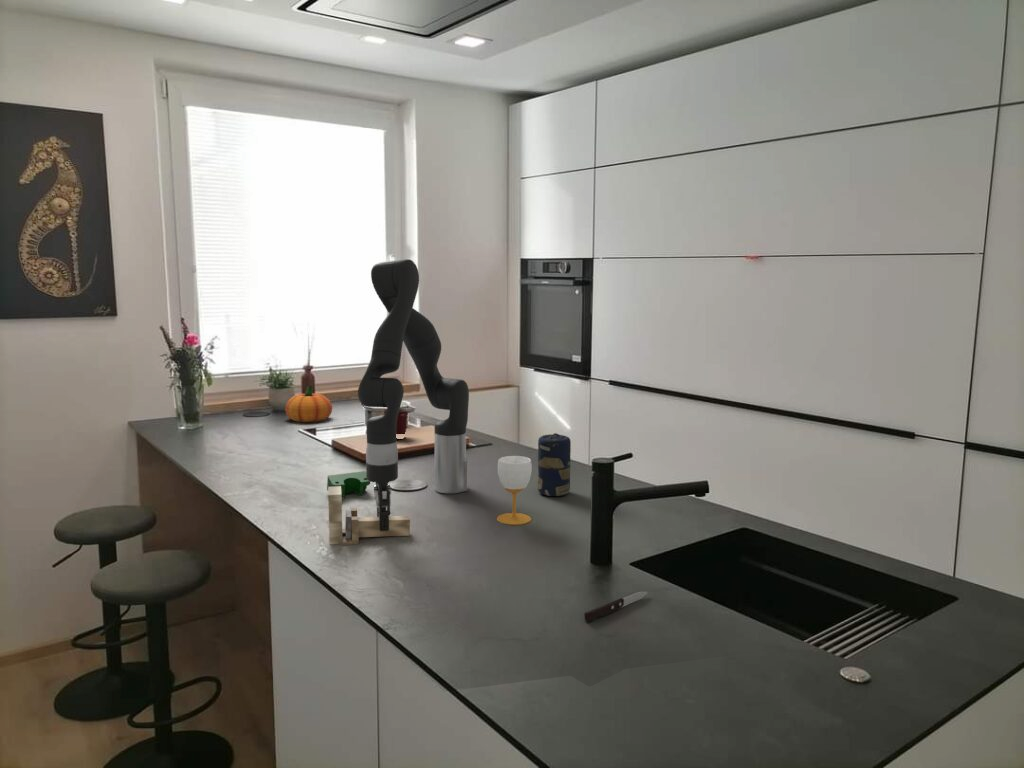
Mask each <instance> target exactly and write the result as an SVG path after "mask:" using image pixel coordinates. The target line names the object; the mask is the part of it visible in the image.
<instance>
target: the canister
mask: <svg viewBox="0 0 1024 768" xmlns="http://www.w3.org/2000/svg"><path fill="white" fill-rule="evenodd" d="M537 443H538V444H537V446H538V447H537V490H538V491H537V492H538V493H539V494H541V495H544V496H549V497H561V496H565V495H567V494H569V492H570V490H571V450H572V448H571V439H570V436H567V435H564V434H559V433H556V432H555V433H553V434H545V435H541V436H539V438H538V440H537Z"/></svg>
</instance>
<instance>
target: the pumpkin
mask: <svg viewBox="0 0 1024 768" xmlns="http://www.w3.org/2000/svg"><path fill="white" fill-rule="evenodd" d="M284 411H285V413H286V416H287V417H288V418H289V419H290V420H292V421H295V422H297V423H314V422H315V421H317V422H320V421H321V422H322V421H323V420H326V419H328V418H330V416H331V414H332V412H333V404H332V402H331V400H330V399H329V398H328V397H326V396H325V395H323V394H320V393H313V390H312V385H308V386H307V388H306V389H305V392H304V393H299V394H296V395H294V396H292V397H291V398H290V399H289V400H288V401H287V402H286V404H285V409H284ZM315 423H316V422H315Z"/></svg>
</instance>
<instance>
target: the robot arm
mask: <svg viewBox="0 0 1024 768" xmlns="http://www.w3.org/2000/svg"><path fill="white" fill-rule="evenodd" d="M370 278H371V279H370V280H371V283H372V287H373V289H374V291H375V293H376V295H377V296H378V298H379V300H380V301H381V303H382V305H383V306H384V308H385V309H386V311H387V313H388V314H387V316H386V317H385V318H384V320H383V321H382V323H381V324H380V325H379V327H378V329H377V331H376V332H375V334H374V335H375V336H374V338H373V342H372V344H373V345H372V350H371V356H370V360H369V363H368V366H367V368H366V369H365V373H364V374H363V376H362V378H361V380H360V382H359V386H358V389H357V396H358V397H357V398H358V400H359V402H360V404H361V405H362V406H364V407H366V408H386V409H387V412H386V414H385V415H384V414H383V415H377V416H372V417H369V418H368V419H367V421H366V449H365V465H366V466H365V471H366V478H367V480H368V481H370V483H375V485H373V493H374V494H373V495H374V500H375V506H376V517H379V529H380V531H388V530H389V516H391V505H392V499H391V498H392V496H391V495H392V487H391V484H389V483H390V482H395V481H396V480H397V479H398V478H399V454H398V453H399V452H398V451H399V450H398V443H397V441H398V440H397V438H396V425H397V418H398V413H399V409H400V408H401V405H402V402H403V399H404V392H405V388H404V386H403V383H402V382H401V381H400V379H398V378H395V377H382V376H384V375H387V374H391V373H395V372H397V371H398V370H399V369H400V367H401V365H400V364H401V358H402V351H403V344H404V345H405V347H406V349H407V352H408V354H409V355H410V357H411V359H412V361H413V364H414V366H415V367H416V370H417V372H418V374H419V377H420V378H421V382H422V385H423V389H424V390H425V393H426V396H427V399H428V401H429V403H430V405H431V406H432V407H433V408H435V409H439V410H446V411H449V415H448V418H446V419H442V420H439V421H437V422H436V423H435V424H434V428H433V429H434V491H436V493H437V492H438V493H442V494H459V493H462V492H468V459H467V425H468V421H469V420H468V418H469V404H470V402H469V401H470V396H469V395H470V393H469V392H470V391H469V390H470V389H469V385H468V383H467V382H466V381H465V380H464V379H459V378H449V377H443V376H442V374H441V373H440V370H439V368H438V362H439V359H440V356H441V353H442V341H441V338H440V337H439V335H438V332H437V330H436V328H435V326H434V324H433V323H432V322H431V321H430V320H429V319H428V318H427V317H426V316H425V315H423V314H422V313H420V312H419V311H418V310H417V309H415V308H413V307H414V303H415V300H416V297H417V294H418V291H419V285H420V274H419V269H418V267H417V265H416V263H415V262H414V261H413V260H411V259H407V258H404V259H402V258H401V259H395V260H388V261H387V260H386V261H381V262H377V263H375V264H374V265H373V266H372V268H371V270H370Z"/></svg>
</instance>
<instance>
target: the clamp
mask: <svg viewBox="0 0 1024 768" xmlns="http://www.w3.org/2000/svg"><path fill="white" fill-rule="evenodd" d="M326 483H327V484H326V490H327V491H328V487H334V486H341V494H342V499H344V498H345V496H346V495H345V494H353V493H356V494H358V495H359V496H360V497H361V496H362V492H365V491H366V489H367V487H368V486H370V485H371V481H368V480H367V478H366V470H363V471H354V472H346V473H340V474H339V473H337V474H331V475H327V481H326Z"/></svg>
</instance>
